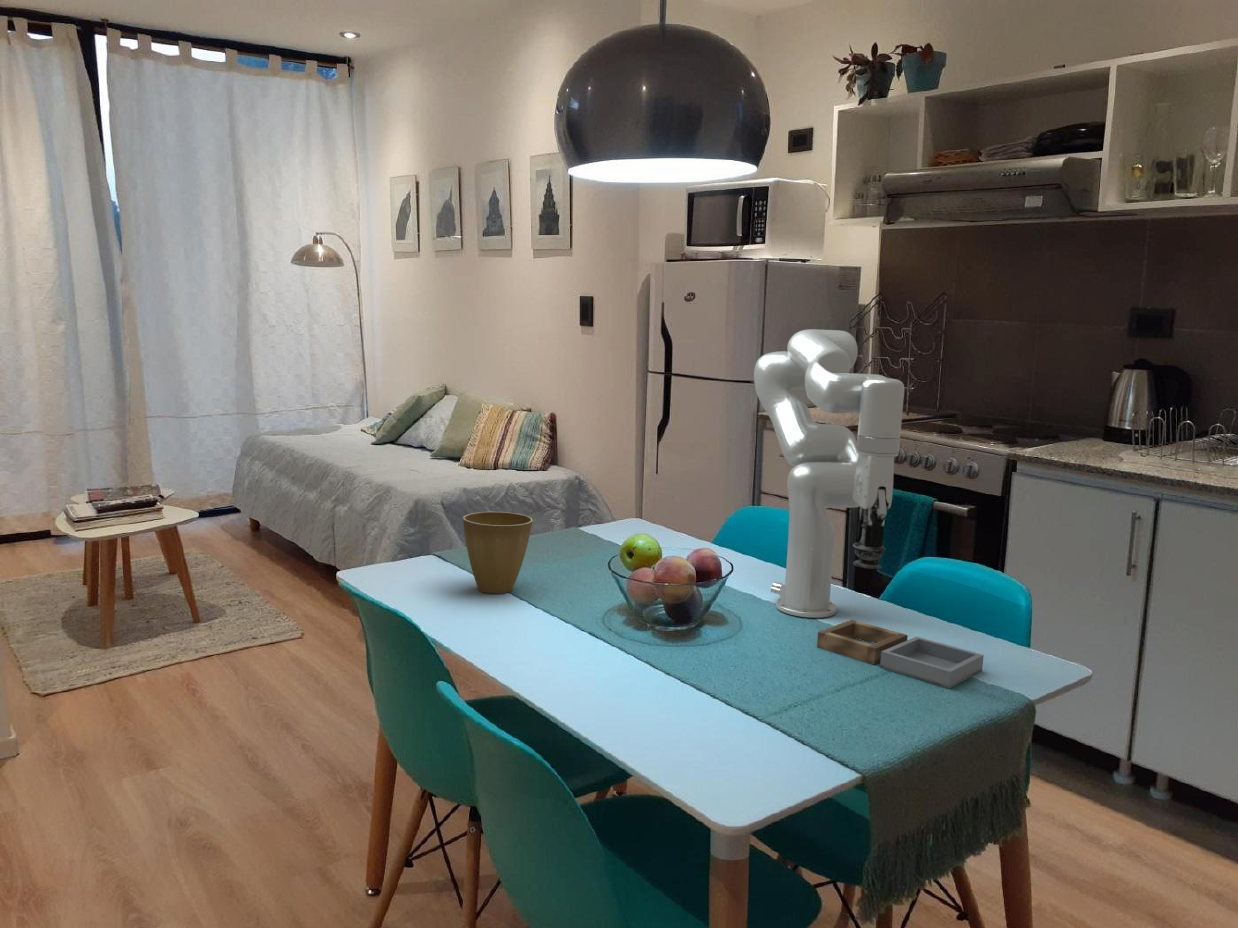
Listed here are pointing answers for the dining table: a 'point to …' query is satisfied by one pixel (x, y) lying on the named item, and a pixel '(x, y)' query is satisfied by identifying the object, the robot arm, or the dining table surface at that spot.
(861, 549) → the grey chess piece
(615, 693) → the dining table surface
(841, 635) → the wooden tray
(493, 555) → the plant pot
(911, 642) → the grey tray
